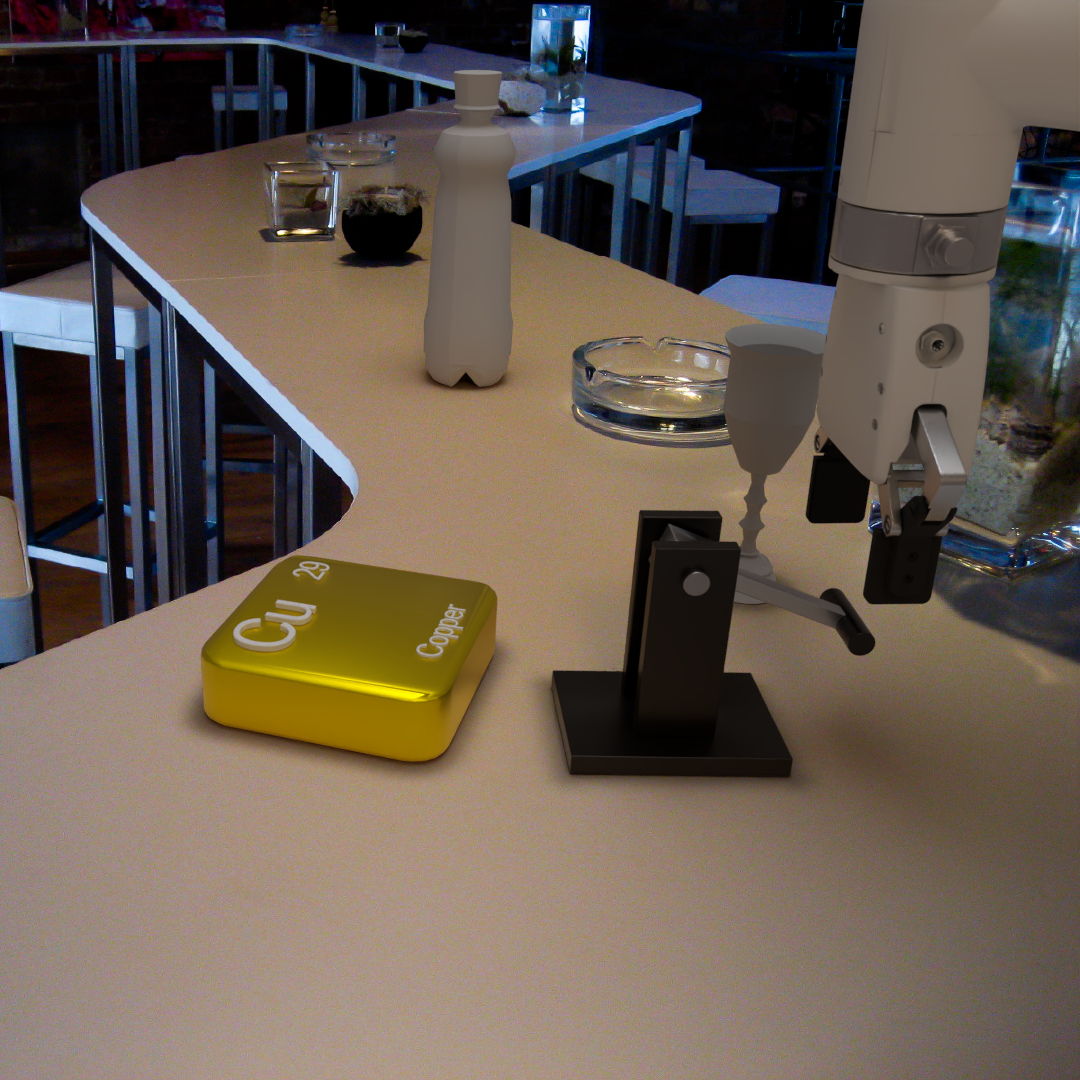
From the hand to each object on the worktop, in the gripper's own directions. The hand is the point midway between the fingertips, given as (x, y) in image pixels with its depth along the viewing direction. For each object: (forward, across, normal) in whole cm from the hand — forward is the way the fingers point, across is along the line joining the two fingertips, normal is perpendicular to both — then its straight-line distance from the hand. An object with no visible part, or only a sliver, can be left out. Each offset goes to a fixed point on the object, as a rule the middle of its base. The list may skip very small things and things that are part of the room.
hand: (862, 558), depth 68 cm
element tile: (+11, +5, +28) cm, 30 cm away
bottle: (+11, +65, +18) cm, 68 cm away
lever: (+3, 0, +6) cm, 6 cm away
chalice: (+11, +18, +1) cm, 21 cm away
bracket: (+11, 0, +10) cm, 15 cm away
